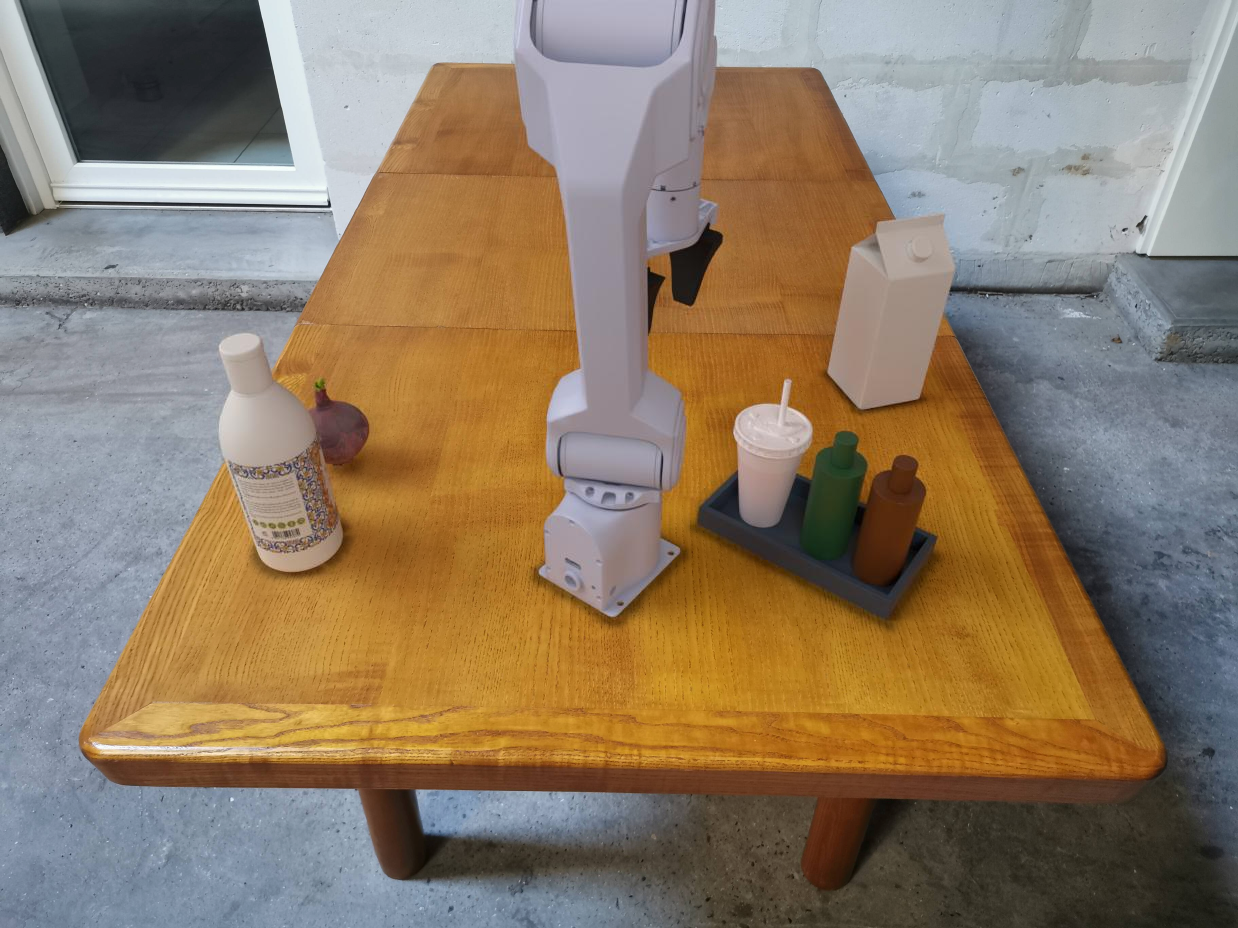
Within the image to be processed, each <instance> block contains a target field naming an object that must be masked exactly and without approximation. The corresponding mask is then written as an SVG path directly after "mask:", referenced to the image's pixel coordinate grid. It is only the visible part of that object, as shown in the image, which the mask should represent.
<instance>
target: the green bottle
mask: <svg viewBox="0 0 1238 928" xmlns="http://www.w3.org/2000/svg"><path fill="white" fill-rule="evenodd" d="M859 442H860V438H859V436H858V435H857V434H856V433H855V432H852V431H851V430H840V431H838V432H836V434H835V435H834V439H833V444H832V445H831V446H827V447H824V448H822V449H820V450H819V451H818V452H817V454H816V455H815V461H814V465H813V471H812V475H811V485H810V490H809V495H808V500H807V505H806V510H805V515H804V520H803V525H802V530H801V535H800V544H801V547H802V548H803V550H804V551H805V552H806V553H808V554H809V555H811V556H812V557H815V558H818V559H822V560H834V559H837V558H840V557H841V556H843V555H844V554H845V553H846V551H847V548H848V544H849V540H850V536H851V532H852V528H853V524H854V520H855V516H856V512H857V508H858V504H859V501H860V499H861V497H862V496H861V495H862V491H863V488H864V487H863V486H864V483H865V479H866V475H867V471H868V467H869V466H868V461H867V459H866V458H865V456H864V455H863V454H861V452H859V451H857V450H858V445H859Z"/></svg>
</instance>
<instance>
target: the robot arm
mask: <svg viewBox="0 0 1238 928" xmlns="http://www.w3.org/2000/svg"><path fill="white" fill-rule="evenodd" d="M715 23H716V0H516V3H515V16H514V34H513V58H514V60H513V61H514V67H515V75H516V83H517V89H518V90H517V91H518V97H519V105H520V112H521V119H522V123H523V125H524V126H525V132H526V139H527V140H526V141H527V146H528V148H529V149H531V150H532V151H533V152H535V154H537V155H538V156H540V157H541V158H542V159H544V160H545V161H546V162H547V163H549V164H550V165H551V166H552V167H554V169H555V172H556V176H557V177H556V178H557V182H558V187H559V192H560V198H561V204H562V209H563V215H564V221H565V230H566V238H567V239H566V240H567V249H568V259H569V269H570V278H571V288H572V299H573V307H574V308H573V309H574V317H575V318H574V319H575V329H576V339H577V349H578V359H579V367H580V368H578V369H575V370H573V371H571V372H569V373H568V374H565V375H563V376H562V377H561V378H560V379H559V381H558V383H557V385H556V386H555V388H554V390H553V392H552V396H551V399H550V402H549V405H548V410H547V412H546V413H547V414H546V440H545V459H546V465H547V467H548V469H549V470H550V471H551V474H552V475H553V477H555V478H563V489H564V491H566V492H565V494H564V497H563V498H562V500H561V501H560V503H559V505H558V506H557V507H556V508H555V509H554V510H553V511H552V512H551V513H550V514H549V515H548V516H547V518H546V520H545V521H544V523H543V544H544V560H545V561H544V562H545V563H544V564H543V565H542V566H541V567H540V568H539V569H538V574H539V576H540V577H542V578H544V579H546V580H548V582H551V583H552V584H554V585H556V586H557V587H559V588H561V589H563V590H564V591H566V592H568V593H569V594H570V595H572V596H574V597H576V598H578V599H579V600H581V601H582V602H584V603H586V604H587V605H589V606H591V607H593V608H594V609H596V610H597V611H599V612H601V613H603V614H604V615H606V616H608V617H609V618H615V617H617V616H620V614H621V613H622V612H623V610H625V609H626V608H627V607H628V606H629V605H630V604H631V603H632V602H633V601H634V600H635V599H636V598H637V597H638V596H639V595H640V594H641V593H642V592H643V590H645V589H646V588H647V587H648V586H649V585H650V584H651V583H652V582H653V581H654V580H655V579H656V578H657V577H658V576H659V575H660V574H661V573H662V571H664V570H665V569H666V568H667V567H668V566H669V564H671V563H672V562H673V560H675V559H676V558H677V557H678V556H679V555H680V554H681V548H680V547H679V546H677V545H675V544H673V543H672V542H670V541H668V540H666V539H664V538H662V537H661V534H662V515H663V501H664V500H663V497H664V492H667V493H669V492H672V491H673V489H674V488H676V487H677V486H678V485H679V482H680V478H681V473H682V468H683V462H684V456H685V455H684V454H685V447H686V438H687V428H688V427H687V425H688V419H687V418H688V417H687V415H686V413H685V401H684V399H682V398H683V397H682V396H683V393H682V392H681V390H680V389H678V388H677V387H676V386H675V385H673V384H671V383H670V382H668V380H665V379H664V378H662V377H661V376H659V375H658V374H657V373H654V371H652V370H651V369H650V368H649V336H650V333H651V329H652V326H653V318H654V311H655V310H654V309H655V305H656V301H657V297H658V295H659V292H660V289H661V287H662V286H663V283H664V282H665V280H666V279H667V277H665V275H661V274H658V273H655V272H653V271H651V267H650V266H648V260H650V259H652V258H655V257H659V256H662V255H666V254H668V256H669V262H670V275H671V277H670V279H671V280H670V281H671V292H672V293H671V294H672V299H673V301H674V302H677V303H680V304H683V305H685V306H687V307H689V308H691V307H693V305H695V302H696V300H697V297H698V295H699V292H700V289H701V286H702V283H703V280H704V277H705V275H706V272H707V269H708V267H709V265H710V264H711V261H712V259H713V257H714V256H715V254H716V253H717V252H718V250H719V248H720V247H721V246H722V244H723V243H724V241H723V240H724V235H723V233H722V232H720V231H718V230H716V229H715V230H714V229H712V228H710V227H713V226H714V225H716V224H718V217H719V215H718V214H719V203H716V202H713V201H709V200H706V199H703V198H701V188H702V175H703V163H704V162H703V159H704V146H705V130H706V127H707V125H708V122H709V115H710V107H711V106H710V105H711V99H712V96H713V93H714V89H715V80H716V74H717V62H718V61H717V60H718V40H717V35H715ZM669 553H673V554H669ZM619 603H622V605H619Z"/></svg>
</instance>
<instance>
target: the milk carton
mask: <svg viewBox="0 0 1238 928" xmlns="http://www.w3.org/2000/svg"><path fill="white" fill-rule="evenodd" d="M945 218H946V213H944V212H943V213H936V214H928V215H921V216H913V217H906V218H905V217H904V218H898V219H891V220H882V221H877V224H876V228H875V233H873V234H871V235H869V236H867V237H866V238H864V239H863V240H861V241H858V243H856V244H854V245H852V246H851V249H850V254H849V259H848V263H847V270H846V274H845V279H844V285H843V289H842V295H841V300H840V305H839V311H838V317H837V321H836V326H835V331H834V335H833V341H832V347H831V352H830V357H829V363H828V368H827V375H828V376H829V377H830V378H831V379H832V380H833V381H834V382H835V384H836V385H837V386H838V387H839V389H840V390H842V392H843V393H844V394H845V395H846V396H847V397H848V399H849V400H850V401H851V402H852V403H853V404H854V405H855V406H856V408H857V409H860V410H869V409H873V408H879V407H885V406H890V405H894V404H895V405H896V404H901V403H905V402H906V403H907V402H910V401H915V400H919V399H920V398H921V394H922V390H923V387H924V383H925V380H926V376H927V373H928V370H929V365H930V362H931V359H932V355H933V351H934V349H935V345H936V340H937V337H938V333H939V329H940V326H941V323H942V319H943V315H944V312H945V308H946V304H947V301H948V297H949V294H950V291H951V286H952V283H953V280H954V276H955V272H956V265H955V261H954V258H953V254H952V251H951V248H950V244H949V241H948V238H947V233H946V231H945V227H944V222H945Z"/></svg>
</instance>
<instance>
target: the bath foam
mask: <svg viewBox="0 0 1238 928" xmlns="http://www.w3.org/2000/svg"><path fill="white" fill-rule="evenodd" d="M218 352H219V355H220V358H221V362H222V364H223V367H224V370H225V373H226V376H227V379H228V382H229V385H230V388H231V389H230V391H229V392H228V396H227V398H226V400H225V402H224V406H223V408H222V409H221V412H220V417H219V422H218V439H219V445H220V449H221V453H222V455H223V456H222V457H223V459H224V461H225V465H226V467H227V470H228V473H229V476H230V479H231V481H232V484H233V486H234V489H235V492H236V496H237V498H238V501H239V504H240V506H241V509H242V512H243V515H244V517H245V520H246V523H247V526H248V529H249V532H250V535H251V538H252V541H253V543H254V545H255V548H256V551H257V554H258V556H259V558H260V559H261V561H262V562H263V564H264V565H266V566H267V567H269V568H271V569H273V570H276V571H279V572H284V573H298V572H303V571H308V570H311V569H314V568H317V567H319V566H321V565H323V564H325V563H326V562H327V561H329V560H330V559H331V558H332V557H333V556H334V555H335V554H336V553H337V551H338V550H339V549H340V547H341V545H342V542H343V539H344V530H343V527H342V522H341V519H340V514H339V511H338V506H337V502H336V498H335V494H334V490H333V488H332V484H331V479H330V476H329V472H328V467H327V464H326V463H325V460H324V456H323V452H322V449H321V445H320V441H319V437H318V433H317V429H316V426H315V424H314V421H313V419H312V417H311V415H310V413H309V410H308V408H307V406H306V405H305V403H303V401H302V400H301V399H300V398H299V397H298V396H297V395H296V394H295V393H293V392H292V391H291V390H290V389H288V387H286V386H284V385H282V384H281V383H280V382H278V381H277V380H276V379H274V377H273V373H272V369H271V366H270V362H269V359H268V356H267V355H266V353H265V348H264V342H263V339H262V338H261V337H260V336H259V335H257V334H255V333H250V332H243V333H241V332H240V333H236V334H232V335H229V336H227V337H226V338H224V339H223V340H221V342H220V343H219V345H218Z"/></svg>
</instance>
